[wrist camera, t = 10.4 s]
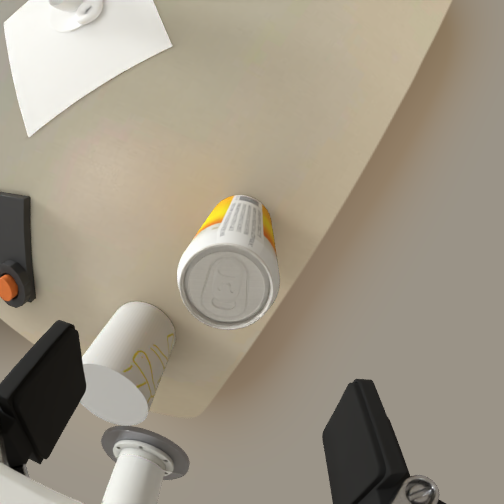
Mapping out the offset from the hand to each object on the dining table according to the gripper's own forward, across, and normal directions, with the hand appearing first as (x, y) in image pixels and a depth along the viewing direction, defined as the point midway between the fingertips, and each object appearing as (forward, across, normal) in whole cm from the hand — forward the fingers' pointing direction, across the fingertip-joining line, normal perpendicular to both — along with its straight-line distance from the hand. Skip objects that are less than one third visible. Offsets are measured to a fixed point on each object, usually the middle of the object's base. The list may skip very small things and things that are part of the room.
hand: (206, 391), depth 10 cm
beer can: (+23, 0, 0) cm, 23 cm away
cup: (+23, +9, +16) cm, 30 cm away
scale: (+23, +33, +8) cm, 41 cm away
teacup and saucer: (+24, +24, -20) cm, 39 cm away
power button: (+20, +29, +13) cm, 37 cm away
